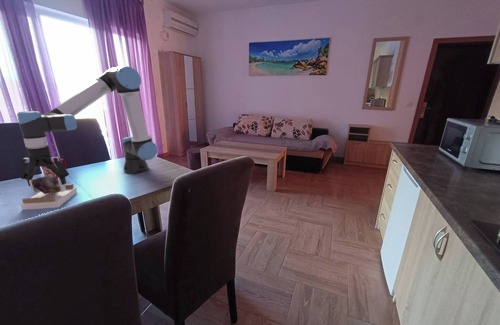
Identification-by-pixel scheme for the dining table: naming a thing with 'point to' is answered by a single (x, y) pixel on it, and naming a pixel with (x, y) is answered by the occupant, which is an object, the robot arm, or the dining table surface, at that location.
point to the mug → (49, 173)
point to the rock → (46, 184)
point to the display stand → (49, 199)
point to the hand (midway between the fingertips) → (49, 191)
